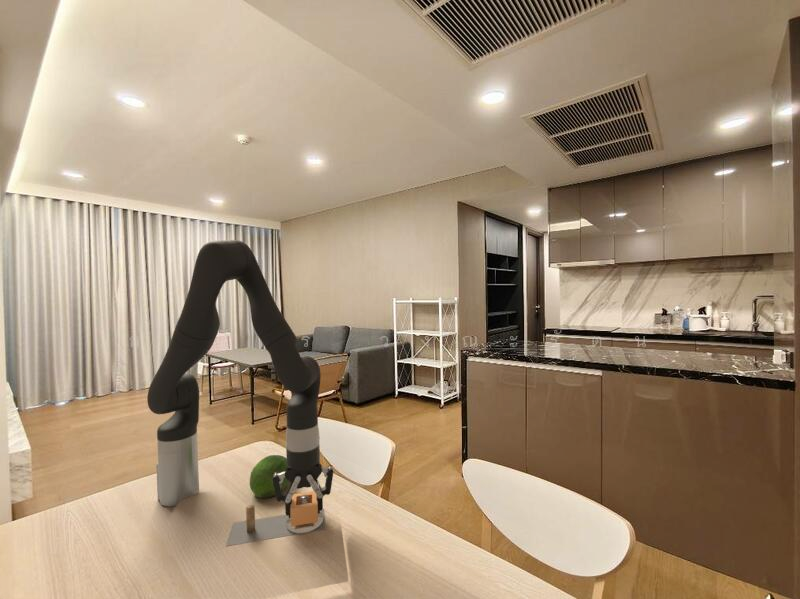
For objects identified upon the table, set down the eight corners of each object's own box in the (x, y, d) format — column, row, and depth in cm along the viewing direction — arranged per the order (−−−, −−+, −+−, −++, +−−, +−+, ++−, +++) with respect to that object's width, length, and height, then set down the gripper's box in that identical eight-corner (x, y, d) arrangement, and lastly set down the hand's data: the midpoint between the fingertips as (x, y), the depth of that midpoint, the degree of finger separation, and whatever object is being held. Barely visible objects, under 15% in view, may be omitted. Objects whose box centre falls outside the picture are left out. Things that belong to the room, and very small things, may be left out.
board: (225, 552, 79) (225, 546, 79) (233, 529, 87) (232, 522, 87) (325, 535, 84) (325, 529, 84) (323, 514, 92) (323, 508, 92)
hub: (284, 537, 82) (284, 510, 82) (286, 513, 90) (286, 489, 90) (324, 530, 84) (323, 504, 84) (322, 508, 92) (322, 484, 92)
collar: (290, 526, 83) (290, 509, 83) (291, 510, 89) (291, 494, 89) (317, 522, 85) (317, 505, 85) (317, 506, 91) (316, 490, 90)
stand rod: (246, 533, 83) (245, 509, 83) (247, 528, 85) (246, 505, 85) (254, 532, 84) (253, 508, 83) (255, 527, 85) (255, 503, 85)
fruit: (267, 476, 111) (266, 443, 111) (299, 477, 110) (298, 444, 110) (241, 506, 96) (240, 469, 95) (279, 508, 95) (278, 470, 95)
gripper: (268, 454, 81) (270, 529, 82) (335, 446, 84) (336, 518, 85) (272, 440, 88) (273, 509, 89) (333, 433, 92) (334, 500, 92)
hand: (304, 513), depth 87 cm, fingers closed on collar, 5 cm apart
